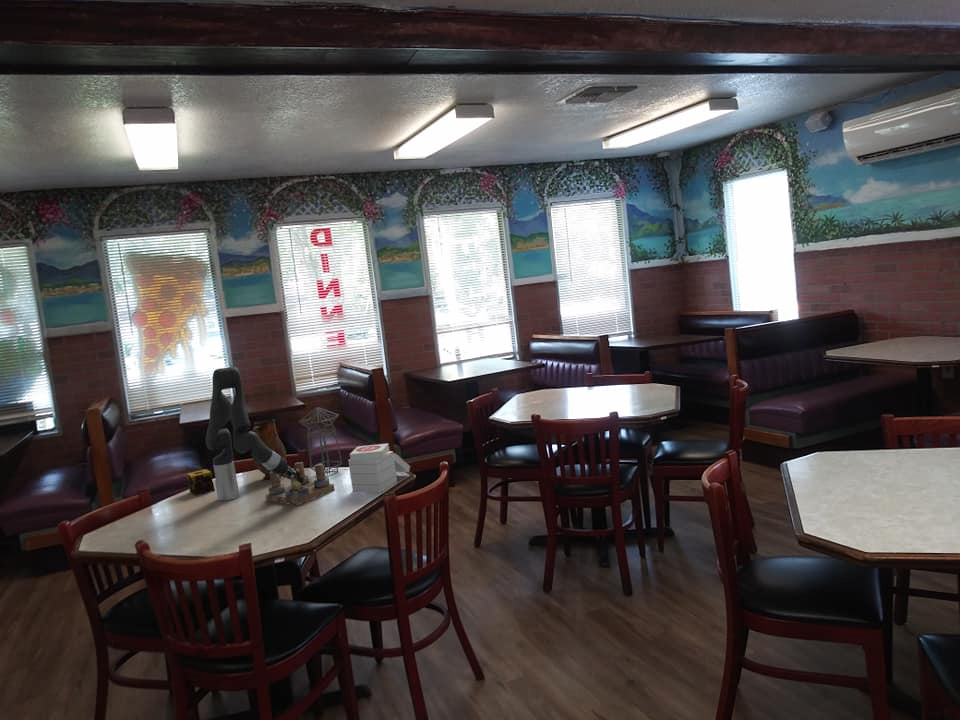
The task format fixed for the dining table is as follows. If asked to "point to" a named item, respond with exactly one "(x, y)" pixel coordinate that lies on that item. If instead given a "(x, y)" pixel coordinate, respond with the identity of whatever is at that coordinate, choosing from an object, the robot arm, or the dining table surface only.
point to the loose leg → (295, 484)
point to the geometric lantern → (322, 436)
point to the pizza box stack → (374, 468)
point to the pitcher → (268, 442)
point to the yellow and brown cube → (200, 482)
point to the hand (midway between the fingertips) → (299, 480)
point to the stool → (307, 488)
